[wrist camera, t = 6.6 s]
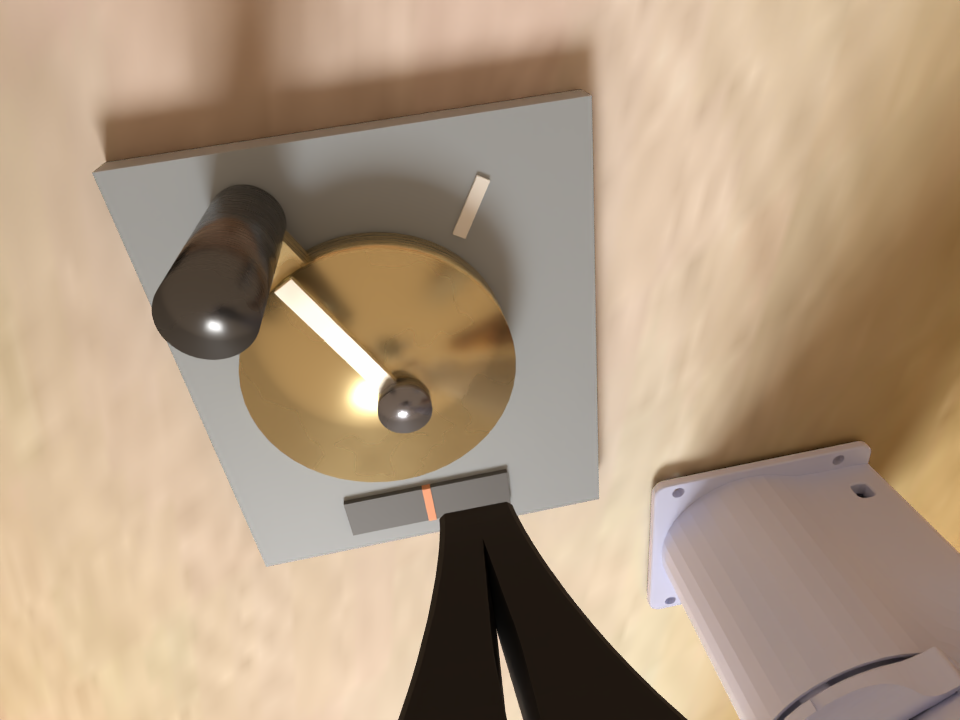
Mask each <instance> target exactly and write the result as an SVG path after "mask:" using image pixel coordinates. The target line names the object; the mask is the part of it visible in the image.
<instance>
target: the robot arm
mask: <svg viewBox="0 0 960 720" xmlns="http://www.w3.org/2000/svg"><path fill="white" fill-rule="evenodd" d="M870 455H871V448H870V447H869V446H868V445H867V444H866V443H865V442H863V441H856V442H851V443H846V444H841V445H836V446H831V447H827V448H822V449H817V450H812V451H807V452H802V453H797V454H792V455H787V456H782V457H777V458H772V459H767V460H762V461H758V462H753V463H748V464H743V465H738V466H733V467H728V468H723V469H718V470H713V471H708V472H703V473H698V474H693V475H689V476H684V477H679V478H674V479H669V480H664V481H661V482H659V483H657V484H656V485H655V486H654V487H653V490H652V500H651V523H650V545H649V568H648V591H647V600H648V603H649V605H650V607H651V608H653V609H662V608H666V607H671V606H675V605H680V604H682V606H683V608H684V610H685V612H686V614H687V616H688V618H689V620H690V621H691V623H692V625H693V627H694V629H695V631H696V633H697V635H698V637H699V639H700V641H701V643H702V645H703V647H704V649H705V651H706V653H707V655H708V657H709V659H710V661H711V663H712V665H713V667H714V669H715V671H716V673H717V675H718V677H719V679H720V681H721V683H722V685H723V687H724V689H725V691H726V693H727V695H728V697H729V699H730V701H731V703H732V705H733V707H734V709H735V711H736V713H737V715H738V716H739V718H740V720H960V553H959V552H958V551H957V550H956V549H955V548H954V547H953V546H952V545H951V544H950V543H949V542H948V541H947V540H945V539H944V538H943V537H942V536H941V535H940V534H939V533H938V532H937V531H936V530H935V529H934V528H933V527H932V526H931V525H930V524H929V523H928V522H927V521H926V520H925V519H924V518H923V517H922V516H921V515H920V514H919V513H918V512H917V511H916V510H915V509H914V508H913V507H912V506H911V505H910V504H909V503H908V502H907V501H906V500H905V499H904V498H903V497H902V496H901V495H900V494H899V493H898V492H897V491H896V490H894V489H893V488H892V487H891V486H890V485H889V484H888V483H887V482H886V481H885V480H884V479H883V478H882V477H881V476H880V475H879V474H878V473H877V472H876V471H875V470H874V469H873V468H872V467H871V466H870V465H869V464H868V462H869V458H870ZM678 488H679V489H678ZM676 489H677V490H676ZM674 490H675V491H674ZM439 522H440V543H439V555H438V563H437V571H436V578H435V584H434V589H433V594H432V600H431V605H430V610H429V615H428V620H427V624H426V628H425V632H424V635H423V639H422V643H421V647H420V651H419V655H418V659H417V663H416V666H415V669H414V673H413V676H412V680H411V683H410V686H409V689H408V692H407V695H406V698H405V701H404V704H403V707H402V710H401V713H400V716H399V719H398V720H507V718H506V713H505V704H504V695H503V686H502V676H501V667H500V658H499V649H498V639H497V633H498V636H499V639H500V643H501V646H502V650H503V653H504V656H505V660H506V663H507V667H508V670H509V673H510V677H511V680H512V683H513V687H514V690H515V693H516V697H517V700H518V704H519V707H520V710H521V714H522V717H523V720H687V719H686V718H685V717H684V716H683V715H682V714H681V713H679V712H678V711H677V710H676V709H675V708H674V707H673V706H672V705H671V704H669V703H668V702H667V701H666V700H665V699H664V698H663V697H662V696H661V695H660V694H658V693H657V692H656V691H655V690H654V689H653V688H652V687H651V686H650V685H649V684H648V683H647V682H646V681H645V680H644V679H643V678H642V677H641V676H640V675H639V674H638V673H637V672H636V671H635V670H634V669H633V668H632V667H631V666H630V665H629V664H628V663H627V662H626V660H625V659H624V658H623V657H622V656H621V655H620V654H619V653H618V652H617V651H616V650H615V649H614V648H613V647H612V646H611V644H610V643H609V642H608V641H607V640H606V639H605V638H604V637H603V635H602V634H601V633H600V632H599V631H598V630H597V629H596V627H595V626H594V625H593V624H592V623H591V621H590V620H589V619H588V618H587V617H586V615H585V614H584V613H583V612H582V611H581V609H580V608H579V607H578V606H577V604H576V603H575V602H574V601H573V599H572V598H571V597H570V595H569V594H568V593H567V592H566V590H565V589H564V587H563V586H562V585H561V583H560V582H559V581H558V579H557V578H556V576H555V575H554V574H553V572H552V571H551V570H550V568H549V567H548V565H547V564H546V562H545V561H544V560H543V558H542V557H541V555H540V554H539V552H538V550H537V549H536V547H535V546H534V544H533V543H532V541H531V539H530V538H529V536H528V534H527V533H526V531H525V529H524V527H523V526H522V524H521V522H520V520H519V518H518V516H517V514H516V512H515V510H514V507H513V505H512V504H510V503H508V502H502V503H496V504H491V505H486V506H481V507H476V508H471V509H466V510H461V511H455V512H450V513H445V514H444V515H443V516H442V517H441V518H440V519H439ZM496 629H497V630H496Z"/></svg>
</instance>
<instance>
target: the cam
mask: <svg viewBox="0 0 960 720" xmlns="http://www.w3.org/2000/svg"><path fill="white" fill-rule="evenodd" d="M286 228H287V222H286V216H285V213H284V211H283V209H282V207H281V205H280V204H279V202H278V201H277V200H276V199H275V198H274V197H273V196H272V195H271V194H269V193H268V192H266V191H265V190H263V189H261V188H258V187H255V186H252V185H234V186H230V187H227V188H225V189H223V190H222V191H220V192H219V193H218V194H217V195H216V196H215V197H214V199H213V200H212V202H211V203H210V205H209V207H208V208H207V210H206V211H205V213H204V215H203V216H202V218H201V219H200V221H199V223H198V224H197V226H196V228H195V229H194V231H193V232H192V234H191V236H190V237H189V239H188V241H187V242H186V244H185V245H184V247H183V249H182V250H181V252H180V254H179V255H178V257H177V258H176V260H175V262H174V263H173V265H172V266H171V268H170V270H169V271H168V273H167V275H166V276H165V278H164V279H163V281H162V283H161V284H160V286H159V288H158V289H157V291H156V293H155V295H154V298H153V302H152V316H153V320H154V323H155V325H156V327H157V329H158V331H159V333H160V334H161V336H162V337H163V338H164V339H165V340H166V341H167V342H168V343H169V344H170V345H171V346H173V347H174V348H176V349H177V350H179V351H181V352H182V353H185V354H187V355H189V356H192V357H195V358H200V359H206V360H220V359H226V358H230V357H233V356H236V355H238V354H240V355H239V380H240V388H241V392H242V395H243V399H244V402H245V405H246V407H247V409H248V411H249V414H250V416H251V418H252V419H253V421H254V422H255V424H256V425H257V427H258V428H259V430H260V431H261V432H262V433H263V434H264V436H265V437H266V438H267V439H268V440H269V441H270V442H271V443H272V444H273V445H274V446H275V447H276V448H277V449H279V450H280V451H281V452H282V453H284V454H285V455H287V456H288V457H289V458H291V459H292V460H294V461H296V462H297V463H299V464H301V465H303V466H305V467H307V468H309V469H311V470H314V471H317V472H319V473H322V474H324V475H328V476H332V477H335V478H339V479H345V480H351V481H359V482H390V481H398V480H405V479H409V478H413V477H418V476H421V475H424V474H427V473H430V472H433V471H436V470H438V469H440V468H442V467H444V466H447V465H449V464H450V463H452V462H454V461H456V460H457V459H459V458H461V457H462V456H464V455H465V454H466V453H468V452H469V451H470V450H472V449H473V448H474V447H476V446H477V445H478V444H479V443H480V442H481V441H482V440H483V439H484V438H485V437H486V436H487V435H488V434H489V432H490V431H491V430H492V429H493V428H494V426H495V425H496V423H497V422H498V420H499V419H500V417H501V416H502V414H503V412H504V410H505V408H506V406H507V404H508V402H509V399H510V396H511V393H512V390H513V386H514V380H515V374H516V355H515V348H514V342H513V339H512V336H511V332H510V329H509V326H508V324H507V322H506V319H505V317H504V314H503V312H502V310H501V307H500V305H499V303H498V301H497V299H496V297H495V295H494V293H493V291H492V290H491V288H490V287H489V285H488V284H487V282H486V281H485V280H484V278H483V277H482V276H481V275H480V274H479V273H478V272H477V271H476V270H475V269H474V268H473V267H472V266H471V265H470V264H468V263H467V262H466V261H465V260H463V259H462V258H461V257H459V256H458V255H456V254H455V253H453V252H451V251H450V250H448V249H446V248H444V247H442V246H440V245H438V244H435V243H433V242H431V241H428V240H425V239H421V238H418V237H415V236H411V235H405V234H399V233H389V232H368V233H356V234H351V235H346V236H342V237H337V238H334V239H331V240H329V241H326V242H323V243H320V244H318V245H316V246H314V247H312V248H310V249H308V250H305V249H304V248H303V247H302V246H301V245H300V244H299V243H298V242H297V241H296V240H295V239H294V238H293V237H292V236H291V235H290V234H289V233H288V232H287V231H286Z"/></svg>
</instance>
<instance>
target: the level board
mask: <svg viewBox="0 0 960 720" xmlns="http://www.w3.org/2000/svg"><path fill="white" fill-rule="evenodd" d="M92 173H93V176H94V178H95V180H96V182H97V185H98V187H99V189H100V191H101V194H102V196H103V198H104V200H105V203H106V205H107V207H108V210H109V212H110V214H111V216H112V219H113V221H114V223H115V225H116V228H117V230H118V232H119V234H120V237H121V239H122V241H123V243H124V246H125V248H126V250H127V253H128V255H129V257H130V259H131V262H132V264H133V266H134V268H135V271H136V273H137V275H138V277H139V280H140V282H141V284H142V286H143V289H144V291H145V293H146V295H147V298H148V300H149V302H150V305H151V307H152V302H153V298H154V295H155V293H156V291H157V289H158V288H159V286H160V284H161V283H162V281H163V279H164V278H165V276H166V275H167V273H168V271H169V270H170V268H171V266H172V265H173V263H174V262H175V260H176V258H177V257H178V255H179V254H180V252H181V250H182V249H183V247H184V245H185V244H186V242H187V241H188V239H189V237H190V236H191V234H192V232H193V231H194V229H195V228H196V226H197V224H198V223H199V221H200V219H201V218H202V216H203V215H204V213H205V211H206V210H207V208H208V207H209V205H210V203H211V202H212V200H213V199H214V197H215V196H216V195H217V194H218V193H219V192H220V191H222V190H223V189H225V188H227V187H230V186H234V185H252V186H255V187H258V188H261V189H263V190H265V191H266V192H268V193H269V194H271V195H272V196H273V197H274V198H275V199H276V200H277V201H278V202H279V204H280V205H281V207H282V209H283V211H284V213H285V216H286V222H287V228H286V231H287V232H288V233H289V234H290V235H291V236H292V237H293V238H294V239H295V240H296V241H297V242H298V243H299V244H300V245H301V246H302V247H303V248H304V249H305V250H308V249H310V248H312V247H314V246H316V245H318V244H320V243H323V242H326V241H329V240H331V239H334V238H337V237H342V236H346V235H351V234H356V233H368V232H389V233H399V234H405V235H411V236H415V237H418V238H421V239H425V240H428V241H431V242H433V243H435V244H438V245H440V246H442V247H444V248H446V249H448V250H450V251H451V252H453V253H455V254H456V255H458V256H459V257H461V258H462V259H463V260H465V261H466V262H467V263H468V264H470V265H471V266H472V267H473V268H474V269H475V270H476V271H477V272H478V273H479V274H480V275H481V276H482V277H483V278H484V280H485V281H486V282H487V284H488V285H489V287H490V288H491V290H492V291H493V293H494V295H495V297H496V299H497V301H498V303H499V305H500V307H501V310H502V312H503V314H504V317H505V319H506V322H507V324H508V326H509V329H510V332H511V336H512V339H513V342H514V348H515V355H516V374H515V380H514V386H513V390H512V393H511V396H510V399H509V402H508V404H507V406H506V408H505V410H504V412H503V414H502V416H501V417H500V419H499V420H498V422H497V423H496V425H495V426H494V428H493V429H492V430H491V431H490V432H489V434H488V435H487V436H486V437H485V438H484V439H483V440H482V441H481V442H480V443H479V444H478V445H477V446H476V447H474V448H473V449H472V450H470V451H469V452H468V453H466V454H465V455H464V456H462V457H461V458H459V459H457V460H456V461H454V462H452V463H450V464H449V465H447V466H444V467H442V468H440V469H438V470H436V471H433V472H430V473H427V474H424V475H421V476H418V477H413V478H409V479H405V480H398V481H390V482H359V481H351V480H345V479H339V478H335V477H332V476H328V475H324V474H322V473H319V472H317V471H314V470H311V469H309V468H307V467H305V466H303V465H301V464H299V463H297V462H296V461H294V460H292V459H291V458H289V457H288V456H287V455H285V454H284V453H282V452H281V451H280V450H279V449H277V448H276V447H275V446H274V445H273V444H272V443H271V442H270V441H269V440H268V439H267V438H266V437H265V436H264V434H263V433H262V432H261V431H260V430H259V428H258V427H257V425H256V424H255V422H254V421H253V419H252V418H251V416H250V414H249V411H248V409H247V407H246V405H245V402H244V399H243V395H242V392H241V388H240V380H239V355H240V354H238V355H236V356H233V357H230V358H226V359H220V360H206V359H200V358H195V357H192V356H189V355H187V354H185V353H182V352H181V351H179V350H177V349H176V348H174V347H173V346H171V345H170V344H169V343H168V342H167V343H168V345H169V348H170V350H171V352H172V354H173V357H174V359H175V361H176V363H177V366H178V368H179V370H180V372H181V375H182V377H183V379H184V381H185V384H186V386H187V388H188V390H189V393H190V395H191V397H192V400H193V402H194V404H195V406H196V409H197V411H198V413H199V415H200V418H201V420H202V422H203V424H204V427H205V429H206V431H207V433H208V436H209V438H210V440H211V443H212V445H213V447H214V449H215V452H216V454H217V456H218V458H219V461H220V463H221V465H222V467H223V470H224V472H225V474H226V476H227V479H228V481H229V483H230V486H231V488H232V490H233V492H234V495H235V497H236V499H237V501H238V504H239V506H240V508H241V510H242V513H243V515H244V517H245V519H246V522H247V524H248V526H249V528H250V531H251V533H252V535H253V538H254V540H255V542H256V544H257V547H258V549H259V551H260V553H261V556H262V558H263V560H264V562H265V565H266V567H267V566H272V565H277V564H282V563H287V562H292V561H297V560H302V559H307V558H311V557H316V556H321V555H326V554H331V553H336V552H341V551H346V550H351V549H356V548H361V547H366V546H370V545H375V544H380V543H385V542H390V541H395V540H400V539H405V538H410V537H415V536H420V535H424V534H429V533H434V532H439V531H440V522H439V519H440V518H441V517H442V516H443V515H444V514H445V513H450V512H455V511H461V510H466V509H471V508H476V507H481V506H486V505H491V504H496V503H502V502H508V503H510V504H512V505H513V507H514V510H515V512H516V514H517V516H518V515H523V514H528V513H533V512H537V511H542V510H547V509H552V508H557V507H562V506H567V505H572V504H577V503H582V502H587V501H591V500H596V499H599V475H598V418H597V361H596V304H595V248H594V191H593V134H592V95H590V94H588V93H587V92H585V91H583V90H581V89H579V90H573V91H566V92H560V93H553V94H547V95H540V96H534V97H527V98H521V99H514V100H508V101H501V102H495V103H488V104H482V105H475V106H469V107H462V108H456V109H449V110H443V111H436V112H430V113H423V114H417V115H410V116H404V117H397V118H391V119H384V120H378V121H371V122H365V123H358V124H352V125H345V126H339V127H332V128H326V129H319V130H313V131H306V132H300V133H293V134H287V135H280V136H274V137H267V138H261V139H254V140H248V141H241V142H235V143H228V144H222V145H215V146H209V147H202V148H196V149H189V150H182V151H176V152H169V153H163V154H156V155H150V156H143V157H137V158H130V159H124V160H117V161H111V162H105V163H104V164H103V165H101V166H100V167H99V168H98V169H96V170H95V171H94V172H92Z"/></svg>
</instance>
